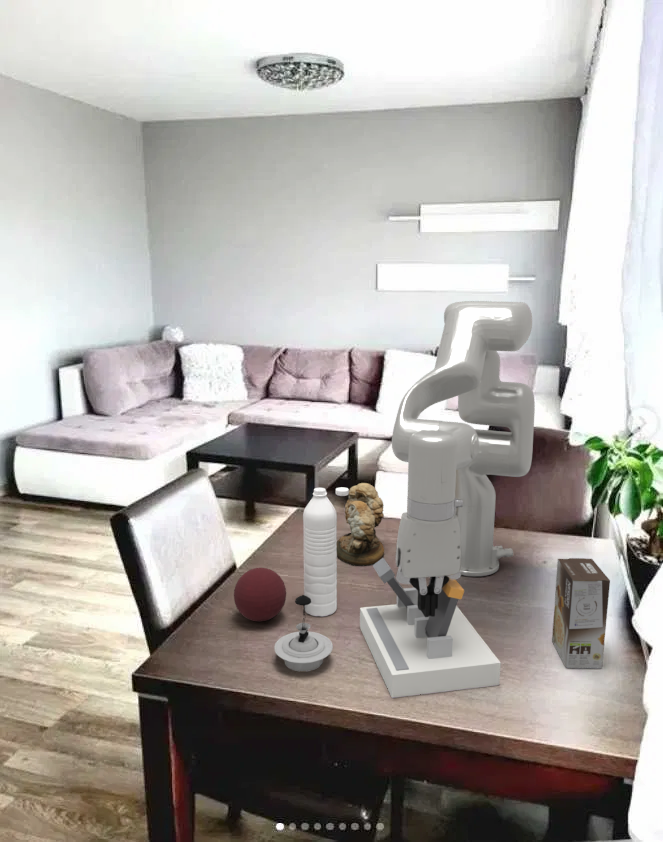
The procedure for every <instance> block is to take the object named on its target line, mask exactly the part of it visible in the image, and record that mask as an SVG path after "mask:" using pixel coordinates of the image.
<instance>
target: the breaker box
mask: <svg viewBox="0 0 663 842" xmlns="http://www.w3.org/2000/svg"><path fill="white" fill-rule="evenodd" d="M403 589H404V590H405V592H406V593H407V594H408V596H409V597H410V598H411V600H412V601H413V603H414V604H415V605H410V606H407V608H406V606H405V605H404V604H403V603H402V601H401V600H400V599H399V597H398V596H397V595H396V603H395V604H386V605H376V606H375V605H374V606H364V607H360V608H359V629H360V631H361V633H362V636H363V637H364V640H365V641H366V644H367V646H368V648H369V651H370V652H371V655H372V657H373V660H374V662H375V663H376V666H377V669H378V670H379V673H380V675H381V678H382V680H383V682H384V684H385V686H386V689H387V688H388V689H387V692H388V693H389V695H390V697H391V699H394V698H403V697H412V696H419V695H420V694H421V695H429V694H435V693H436V694H437V693H438V694H439V693H445V692H452V691H453V692H454V691H461V690H469V689H477V688H479V689H480V688H486V687H494V686H500V681H501V679H500V678H501V664H502V663H501V661H500V660H499V658H498V657H497V656H496V655H495V653H494V652H493V651H492V650H491V648H490V647H489V645H488V644H487V643H486V642H485V641H484V639H483V638H482V637H481V635H480V634H479V633H478V631H477V630H476V629H475V628H474V626H473V625H472V624H471V622H470V621H469V619H468V618H467V617H466V616H465V614H464V613H462V611H461V609H460V608H459V606H458V605H456V608H455V611H454V614H453V617H452V620H451V623H450V626H449V629H448V632H447V635H446V636H441V637H431V638H428V637H427V636H426V634H425V632H426V630H425V628H426V625H427V622H428V619H429V617H425V616H424V615H423V613H422V611H421V610H419V609H418V590H417V589H415V588H414V587H406V588H404V587H403ZM421 695H420V696H421Z"/></svg>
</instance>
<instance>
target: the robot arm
mask: <svg viewBox="0 0 663 842" xmlns="http://www.w3.org/2000/svg"><path fill="white" fill-rule="evenodd" d="M532 313H533V312H532V310H531V308H530V306H529V305H528V303H526V302H522V301H491V300H490V301H489V300H486V301H485V300H480V301H479V300H465V301H464V300H463V301H456V302H452V303H450V304H448V305H447V306H446V308H445V310H444V313H443V322H444V327H443V330H442V334H441V339H440V344H439V348H438V352H437V356H436V361H435V365H434V368H433V369H432V370H430V371H429V372H428V373H426V374H425V375H423V376H422V377H421V378H420V379H418V380H417V381H416V382H415V383H414V384H413V385H412V386H411V387H410V388H409V389H408V390H407V392H406V393H405V394H404V395H403V398H402V399H401V401H400V403H399V406H398V410H397V413H396V417H395V420H394V421H395V422H394V425H393V430H392V435H391V448H392V453H393V455H394V456H395V457H396V459H398V460H399V461H402V462H405V463H408V464H407V465H408V466H407V468H408V469H407V471H408V472H407V475H408V476H407V495H406V497H407V500H406V501H407V502H406V503H407V504H406V505H407V506H406V511H405V512H403V513H402V514H401V516H400V517H401V518H400V520H399V527H398V530H397V531H398V532H397V539H396V548H395V549H396V550H395V565H396V567H397V568H398V569H397V572H396V574H395V578H396V580H397V581H398V582H399V584H404V585H411V586H412V588H415V589H417V590H418V609H419V610H421V611H422V613H423V615H424V616H425V617H429V616H431V617H434V616H435V609H437V608H438V594H439V593H440V592H441V589H442V588H443V587H444V586H445V585H446V584H447V583H448V581H452V580H457V579H461V576H466V577H486V576H487V577H488V576H489V575H492V574H494V573H496V572H498V570H499V568H500V562H499V560H500V559H501V558H511V557H512V558H513V556H514V551H513V548H511V547H509V548H504V547H503V545H495V546H494V536H495V535H494V534H495V531H494V530H495V516H496V515H495V513H496V497H497V496H496V490H495V487H494V486H493V483H492V482H491V480H490V479H489V477H488V475H491V476H501V477H511V478H512V477H516V478H521V477H524V476H526V475H527V474H528V473H529V472H530V469H531V466H532V460H533V449H534V448H533V446H534V426H535V411H536V410H535V406H536V405H535V404H536V403H535V395H534V391H533V389H532V388H531V387H530V386H529V385H528V384H525V383H523V382H522V383H521V382H516V381H514V382H511V381H501V378H500V371H501V370H500V367H501V357H500V354H499V352H518V351H519V350H521V349H522V348H523V346H524V345H525V344H526V343H527V341H528V340H529V338H530V335H531V333H532V329H533V315H532ZM455 397H457V410H458V412H457V413H458V415H459V418H460V419H461V420H462V421H463V422H458V421H457V422H456V421H447V420H446V421H444V420H434V419H421V418H419V416H421V414H422V413H423V412H424V411H425V410H426V409H428V408H429V407H431V406H433V405H435V404H438V403H441V402H443V401H446V400H449V399H453V398H455ZM464 422H465V423H464ZM470 424H471V425H470ZM472 425H479V426H480V425H482V426H492V427H493V426H494V427H505V428H508V429H509V431H498V430H491V429H490V430H489V429H477V428H474V427H473V426H472ZM426 578H429V582H428V584H427V579H426Z"/></svg>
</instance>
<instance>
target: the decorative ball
mask: <svg viewBox="0 0 663 842" xmlns="http://www.w3.org/2000/svg"><path fill="white" fill-rule="evenodd" d="M286 600H287V587H286V585H285V583H284V581H283V579H282V577H281V576H280V575H279V574H278V573H277V572H275V571H274V570H272V569H270V568H265V567H255V568H252V569H249V570H247V571H246V572H244V573H243V574H242V575H240V577H239V579H238V580H237V582H236V584H235V586H234V590H233V601H234V604H235V607H236V609H237V610H238V611H239V613H240V614H241V615H242V616H243V617H245V618H246V619H248V620H250V621H252V622H266V621H269V620H271V619H272V618H275V617H276V616H277V615H278V614H280V612H281V611H282V609H283V607H284V606H285V603H286Z"/></svg>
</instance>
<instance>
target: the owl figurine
mask: <svg viewBox="0 0 663 842" xmlns="http://www.w3.org/2000/svg"><path fill="white" fill-rule="evenodd" d="M344 505H345V507H344V514H345V515H344V518H345V521H346V524H349V528H350V532H348V533H345V534H344V535H342V536H340V537H339V538H338V540H336V541H337V544H336V545H337V548H336V550H337V559H339V560H340V561H341V562H343V563H345V564H349V565H350V564H351V565H350V566H354V565H355V566H354V567H357V566H359V567H369V566H373V565H374V564H375V563H376V562H378V561H379V560H381V559H382V558H384V555H385V547H384V545H383V542H381V540H379V539H380V538H379V537H378V536H377V534H376V533H377V531H376V528H377V527H379V525H380V524H381V522H382V520H383V519H384V517H385V515H384V513H383V512H384V502H383V499H382V498H381V497H379V493H378V491H377V489H376V487H375V486H373V485H371V483H367V482H361V483H358V484H357V485H353V486H351V487H350V488H349V494H348V499H347V500H346V503H345V504H344Z"/></svg>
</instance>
